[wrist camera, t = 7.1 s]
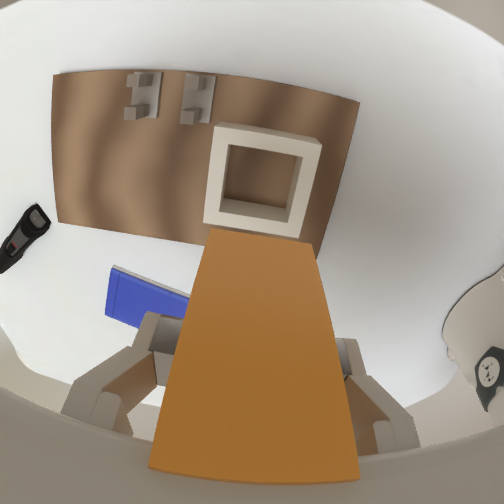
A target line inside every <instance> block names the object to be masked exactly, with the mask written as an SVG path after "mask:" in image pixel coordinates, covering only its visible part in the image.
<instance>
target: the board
mask: <svg viewBox="0 0 504 504" xmlns="http://www.w3.org/2000/svg"><path fill="white" fill-rule="evenodd" d="M359 105H360V102H356V101H353V100H350V99H346V98H342V97H339V96H335V95H331V94H327V93H323V92H319V91H315V90H311V89H306V88H302V87H297V86H292V85H287V84H282V83H277V82H271V81H265V80H259V79H253V78H246V77H239V76H231V75H223V74H214V73H203V72H190V71H173V70H105V71H88V72H76V73H66V74H57V75H53V86H52V109H51V142H52V166H53V180H54V191H55V201H56V210H57V217H58V222H60V223H66V224H72V225H78V226H85V227H91V228H97V229H103V230H109V231H116V232H122V233H128V234H134V235H141V236H147V237H153V238H159V239H166V240H172V241H178V242H184V243H191V244H197V245H203V246H205V245H206V242H207V238H208V235H209V232H210V229H211V228H215V229H222V230H228V231H234V232H241V233H247V234H253V235H260V236H266V237H272V238H278V239H284V240H291V241H297V242H303V243H309V244H312V247H313V251H314V255H315V259H317V256H318V253H319V250H320V247H321V244H322V240H323V237H324V234H325V231H326V227H327V224H328V221H329V218H330V214H331V211H332V207H333V204H334V201H335V197H336V194H337V190H338V187H339V183H340V179H341V176H342V172H343V168H344V165H345V161H346V157H347V153H348V150H349V146H350V142H351V138H352V134H353V130H354V126H355V122H356V118H357V113H358V109H359ZM220 121H222V122H229V123H236V124H243V125H249V126H256V127H262V128H267V129H273V130H278V131H284V132H289V133H294V134H299V135H303V136H308V137H313V138H316V139H317V140H318V141H319V142H320V144H321V145H322V148H321V153H320V157H319V161H318V165H317V169H316V173H315V177H314V181H313V185H312V189H311V193H310V197H309V201H308V205H307V209H306V212H305V216H304V220H303V224H302V227H301V231H300V235H299V238H294V237H288V236H282V235H276V234H270V233H264V232H258V231H251V230H245V229H239V228H233V227H227V226H220V225H214V224H207V223H203V217H204V207H205V198H206V189H207V180H208V172H209V163H210V156H211V148H212V140H213V133H214V126H215V125H216V124H217V123H219V122H220ZM296 159H297V156H295V155H290V154H285V153H279V152H274V151H269V150H263V149H257V148H251V147H245V146H238V145H232V144H231V148H230V155H229V162H228V169H227V176H226V183H225V190H224V197H223V198H226V199H232V200H239V201H245V202H251V203H257V204H263V205H269V206H275V207H280V208H286V204H287V199H288V195H289V191H290V186H291V182H292V177H293V173H294V168H295V164H296Z"/></svg>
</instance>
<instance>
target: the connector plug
mask: <svg viewBox="0 0 504 504" xmlns="http://www.w3.org/2000/svg"><path fill="white" fill-rule="evenodd" d="M148 467H149V469H151V470H156V471H160V472H165V473H170V474H175V475H181V476H186V477H192V478H199V479H206V480H214V481H223V482H233V483H245V484H263V485H312V484H330V483H342V482H352V481H357V480H358V479H360V478H361V477H360V470H359V463H358V457H357V450H356V444H355V438H354V432H353V426H352V421H351V415H350V409H349V404H348V399H347V394H346V388H345V383H344V378H343V373H342V369H341V364H340V359H339V354H338V350H337V345H336V341H335V336H334V332H333V327H332V323H331V319H330V314H329V310H328V306H327V302H326V298H325V294H324V290H323V286H322V282H321V278H320V274H319V270H318V266H317V262H316V259H315V255H314V251H313V247H312V244H309V243H303V242H297V241H291V240H284V239H278V238H272V237H266V236H260V235H253V234H247V233H241V232H234V231H228V230H222V229H215V228H211V229H210V232H209V235H208V238H207V242H206V245H205V248H204V251H203V255H202V258H201V261H200V265H199V268H198V271H197V275H196V278H195V282H194V285H193V288H192V292H191V295H190V299H189V302H188V306H187V309H186V313H185V317H184V320H183V324H182V327H181V331H180V335H179V338H178V342H177V346H176V350H175V353H174V357H173V361H172V365H171V369H170V373H169V377H168V381H167V385H166V389H165V393H164V397H163V401H162V405H161V410H160V414H159V418H158V422H157V427H156V431H155V436H154V440H153V445H152V449H151V454H150V459H149V463H148Z"/></svg>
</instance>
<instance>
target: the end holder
mask: <svg viewBox="0 0 504 504" xmlns="http://www.w3.org/2000/svg"><path fill="white" fill-rule="evenodd" d="M231 144H232V145H238V146H245V147H251V148H257V149H263V150H269V151H274V152H279V153H285V154H290V155H295V156H297V159H296V164H295V168H294V173H293V177H292V182H291V186H290V191H289V195H288V199H287V204H286V208H280V207H275V206H269V205H263V204H257V203H251V202H245V201H239V200H232V199H226V198H223V197H224V190H225V183H226V176H227V169H228V162H229V155H230V148H231ZM321 148H322V145H321V144H320V142H319V141H318V140H317V139H316V138H313V137H308V136H303V135H299V134H294V133H289V132H284V131H278V130H273V129H267V128H262V127H256V126H249V125H243V124H236V123H229V122H222V121H220V122H219V123H217V124H216V125H215V126H214V133H213V140H212V148H211V156H210V163H209V172H208V180H207V189H206V198H205V207H204V217H203V223H207V224H214V225H220V226H227V227H233V228H239V229H245V230H251V231H258V232H264V233H270V234H276V235H282V236H288V237H294V238H299V235H300V231H301V227H302V224H303V220H304V216H305V212H306V209H307V205H308V201H309V197H310V193H311V189H312V185H313V181H314V177H315V173H316V169H317V165H318V161H319V157H320V153H321Z"/></svg>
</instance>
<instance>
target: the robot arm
mask: <svg viewBox="0 0 504 504" xmlns="http://www.w3.org/2000/svg"><path fill="white" fill-rule="evenodd" d="M183 320H184V318H179V317H174V316H169V315H165V314H159V313H154V312H150V311H147V312H146V313H145V315H144V317H143V320H142V322H141V325H140V327H139V329H138V332H137V334H136V337H135V339H134V342H133V344H132V347H129V346H127V347H125V348H124V349H122V350H121V351H119V352H118V353H116V354H114V355H113V356H111V357H110V358H108V359H107V360H105V361H104V362H102V363H101V364H99V365H98V366H96V367H95V368H93V369H92V370H90V371H88V372H87V373H85V374H84V375H82V376H81V377H79V378H78V379H76V380H75V381H74V383H73V385H72V387H71V389H70V392H69V394H68V396H67V399H66V401H65V403H64V405H63V408H62V410H61V413H59V412H56V411H54V410H51V409H49V408H46V407H44V406H41V405H39V404H37V403H35V402H33V401H30V400H28V399H26V398H24V397H22V396H20V395H18V394H16V393H14V392H12V391H10V390H8V389H6V388H4V387H2V386H0V504H504V267H502V268H501V269H500V270H499V271H498V272H497V273H496V274H495V275H493V276H492V277H490V278H488V279H486V280H484V281H482V282H481V283H479V284H477V285H476V286H475V287H473V288H472V289H471V290H470V291H468V292H467V293H466V294H465V295H464V296H463V297H462V298H461V299H460V300H459V302H458V303H457V304H456V305H455V306H454V308H453V309H452V311H451V312H450V314H449V315H448V317H447V319H446V321H445V324H444V327H443V332H442V337H443V341H444V342H445V344H446V345H447V347H448V353H447V355H448V357H449V359H450V360H451V361H454V360H455V361H456V363H457V364H458V366H459V368H460V369H461V371H462V373H463V374H464V376H465V378H466V379H467V381H468V383H469V385H470V386H471V387H473V388H476V392H477V394H478V397H479V401H480V403H481V405H482V406H483V408H484V410H485V411H486V412H489V414H490V417H491V420H492V422H493V425H494V427H495V428H493V429H490V430H487V431H484V432H481V433H477V434H474V435H471V436H468V437H463V438H460V439H456V440H452V441H448V442H444V443H439V444H435V445H430V446H425V447H421V446H420V442H419V438H418V434H417V431H416V427H415V424H414V420H413V417H412V416H411V415H410V414H409V413H408V412H407V411H406V410H405V409H404V408H403V407H402V406H401V405H400V404H399V403H398V402H397V401H396V400H395V399H394V398H393V397H392V396H391V395H390V394H389V393H388V392H387V391H386V390H385V389H384V388H383V387H382V386H381V385H380V384H379V383H377V382H376V381H375V380H374V379H373V378H372V377H371V376H368V375H367V374H366V371H365V367H364V363H363V360H362V356H361V353H360V349H359V346H358V342H357V341H356V339H346V338H335V341H336V345H337V350H338V354H339V359H340V364H341V369H342V373H343V378H344V383H345V388H346V394H347V399H348V404H349V409H350V415H351V421H352V426H353V432H354V438H355V444H356V450H357V457H358V463H359V470H360V477H361V478H360V479H358V480H357V481H352V482H342V483H330V484H312V485H263V484H245V483H233V482H223V481H214V480H206V479H199V478H192V477H186V476H181V475H175V474H170V473H165V472H160V471H156V470H151V469H149V467H148V463H149V459H150V454H151V449H152V445H153V442H152V441H148V440H144V439H140V438H136V437H133V431H132V428H131V425H130V423H129V420H128V417H127V413H129V412H130V411H131V410H132V409H133V408H134V407H135V406H136V405H137V404H138V403H139V402H141V401H142V400H143V399H144V398H145V397H146V396H147V395H148V394H149V393H150V392H151V391H152V390H153V389H155V388H156V387H157V385H160V386H166V385H167V381H168V377H169V373H170V369H171V365H172V361H173V357H174V353H175V350H176V346H177V342H178V338H179V335H180V331H181V327H182V324H183Z"/></svg>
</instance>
